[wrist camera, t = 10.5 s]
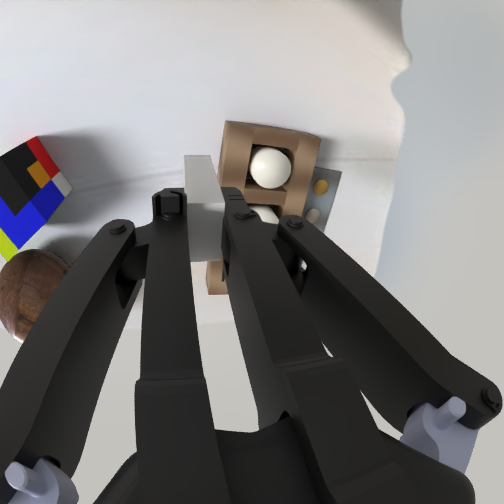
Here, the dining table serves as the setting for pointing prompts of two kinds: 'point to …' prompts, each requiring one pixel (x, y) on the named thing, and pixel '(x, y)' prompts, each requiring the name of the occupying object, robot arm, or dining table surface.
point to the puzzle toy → (27, 194)
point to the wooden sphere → (28, 288)
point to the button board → (283, 197)
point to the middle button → (265, 212)
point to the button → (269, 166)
